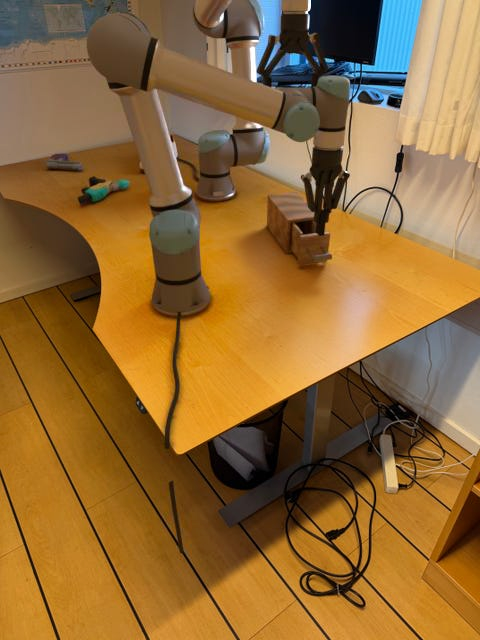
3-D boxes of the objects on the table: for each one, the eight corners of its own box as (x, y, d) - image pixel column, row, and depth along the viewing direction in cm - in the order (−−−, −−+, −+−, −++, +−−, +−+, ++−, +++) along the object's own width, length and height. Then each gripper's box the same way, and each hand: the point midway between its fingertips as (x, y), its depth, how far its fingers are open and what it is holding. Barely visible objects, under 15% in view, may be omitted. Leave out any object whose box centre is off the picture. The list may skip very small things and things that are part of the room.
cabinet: (316, 249, 149) (319, 216, 142) (286, 253, 147) (288, 220, 140) (294, 222, 165) (296, 192, 158) (266, 226, 163) (267, 195, 156)
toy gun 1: (94, 162, 221) (79, 173, 209) (58, 159, 224) (41, 170, 212) (93, 153, 219) (78, 164, 207) (56, 151, 222) (39, 161, 210)
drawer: (335, 271, 136) (339, 242, 130) (307, 276, 134) (309, 246, 128) (304, 234, 156) (306, 207, 150) (278, 237, 154) (279, 210, 148)
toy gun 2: (55, 191, 179) (85, 198, 173) (101, 171, 197) (130, 177, 192) (57, 202, 181) (87, 209, 176) (103, 182, 200) (131, 187, 194)
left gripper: (346, 140, 122) (336, 225, 136) (298, 144, 119) (293, 230, 133) (359, 148, 116) (347, 236, 130) (309, 153, 113) (302, 242, 127)
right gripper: (333, 10, 129) (326, 95, 142) (245, 13, 124) (245, 100, 137) (345, 12, 123) (336, 100, 136) (253, 15, 119) (252, 106, 131)
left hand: (319, 233), depth 131 cm, fingers closed
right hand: (291, 100), depth 137 cm, fingers open, 13 cm apart
